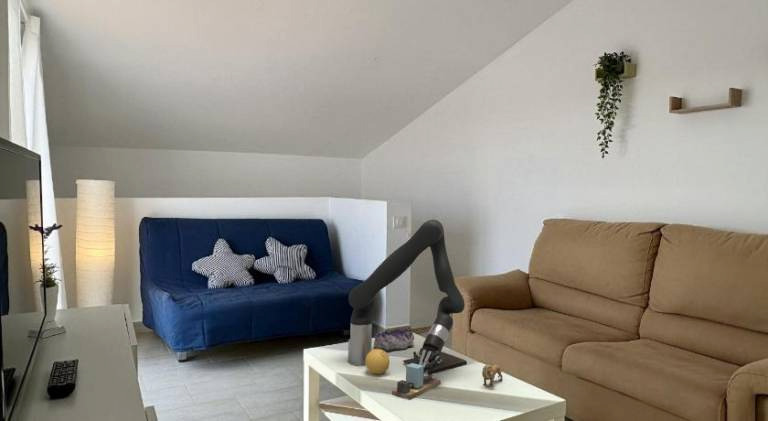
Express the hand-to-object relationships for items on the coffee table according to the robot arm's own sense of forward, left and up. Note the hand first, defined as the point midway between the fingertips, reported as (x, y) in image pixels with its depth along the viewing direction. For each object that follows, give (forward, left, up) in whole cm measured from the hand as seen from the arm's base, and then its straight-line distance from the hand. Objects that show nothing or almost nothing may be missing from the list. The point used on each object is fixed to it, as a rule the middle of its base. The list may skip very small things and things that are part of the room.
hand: (418, 377), depth 210 cm
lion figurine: (+20, +23, -5) cm, 31 cm away
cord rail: (0, -1, -4) cm, 4 cm away
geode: (-38, +36, -5) cm, 52 cm away
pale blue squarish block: (0, -3, -2) cm, 3 cm away
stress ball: (-22, +3, -5) cm, 23 cm away
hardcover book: (-10, +28, -5) cm, 30 cm away
